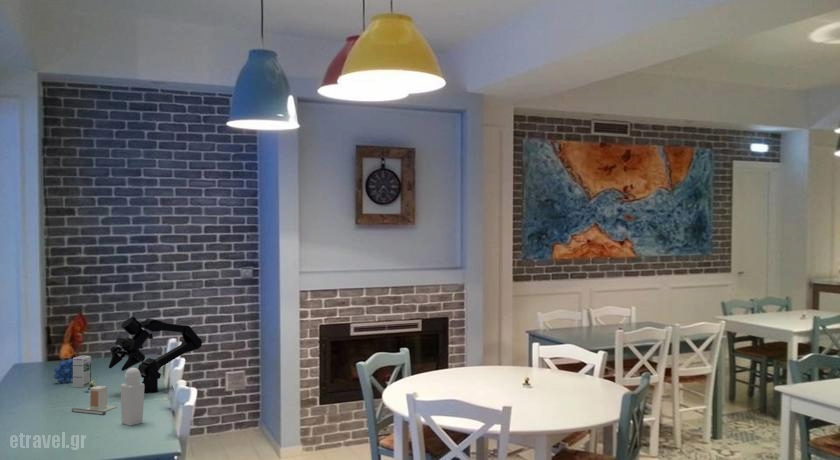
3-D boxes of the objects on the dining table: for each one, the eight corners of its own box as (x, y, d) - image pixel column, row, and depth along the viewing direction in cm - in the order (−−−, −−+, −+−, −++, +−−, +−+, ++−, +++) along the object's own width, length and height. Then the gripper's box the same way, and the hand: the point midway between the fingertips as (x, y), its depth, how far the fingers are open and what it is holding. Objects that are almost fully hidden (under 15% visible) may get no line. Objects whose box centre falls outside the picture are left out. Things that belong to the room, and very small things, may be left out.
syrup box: (83, 387, 313) (83, 357, 313) (72, 387, 314) (72, 357, 314) (91, 385, 319) (91, 355, 319) (80, 384, 320) (81, 355, 320)
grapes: (80, 380, 329) (80, 356, 329) (80, 383, 323) (80, 358, 323) (54, 382, 324) (54, 358, 324) (53, 385, 318) (53, 360, 318)
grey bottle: (129, 426, 254) (130, 370, 254) (119, 423, 257) (120, 368, 257) (144, 422, 259) (145, 367, 259) (134, 419, 263) (135, 365, 263)
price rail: (105, 414, 270) (105, 411, 270) (103, 415, 268) (103, 412, 268) (74, 410, 274) (74, 408, 274) (71, 411, 273) (71, 408, 273)
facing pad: (116, 407, 280) (116, 406, 280) (99, 413, 270) (99, 412, 270) (97, 405, 283) (97, 404, 283) (79, 411, 273) (79, 410, 273)
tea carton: (97, 406, 279) (98, 385, 279) (106, 407, 278) (107, 386, 278) (89, 409, 275) (89, 388, 275) (98, 410, 274) (98, 389, 274)
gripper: (114, 328, 303) (91, 356, 293) (139, 332, 293) (117, 361, 284) (129, 343, 309) (107, 370, 300) (154, 347, 300) (133, 375, 290)
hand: (115, 369), depth 293 cm, fingers open, 9 cm apart
